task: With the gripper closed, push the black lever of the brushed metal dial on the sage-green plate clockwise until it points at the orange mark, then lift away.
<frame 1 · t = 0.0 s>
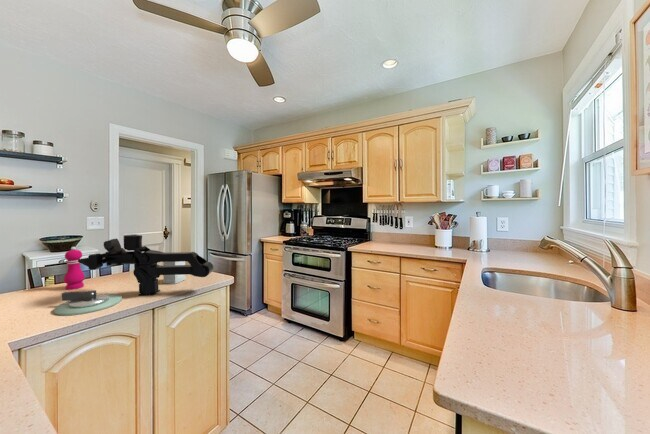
hand: (86, 258, 114), 17 cm above the countertop, tool horizontal, fingers open, 9 cm apart
dial plate: (90, 304, 103), on the countertop
dial: (85, 297, 103), point 3 cm above the countertop, hinge at 0.0°
supplement box: (174, 282, 135), on the countertop
pepper mill: (74, 288, 125), on the countertop
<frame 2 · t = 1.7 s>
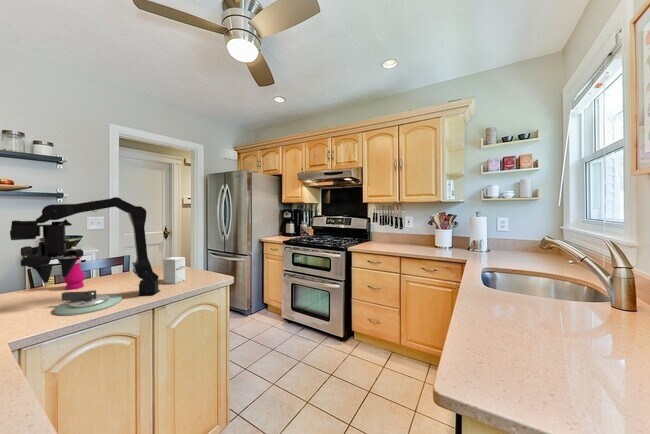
hand: (55, 279, 96), 12 cm above the countertop, tool pointing down, fingers open, 7 cm apart
nothing on the countertop moved.
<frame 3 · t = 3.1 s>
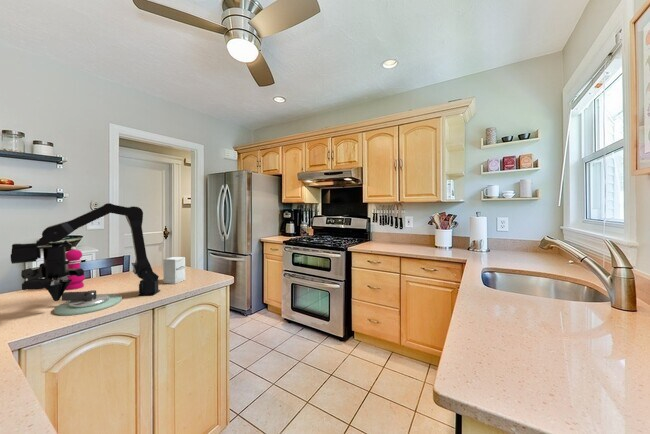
hand: (56, 300, 97), 4 cm above the countertop, tool pointing down, fingers closed
nothing on the countertop moved.
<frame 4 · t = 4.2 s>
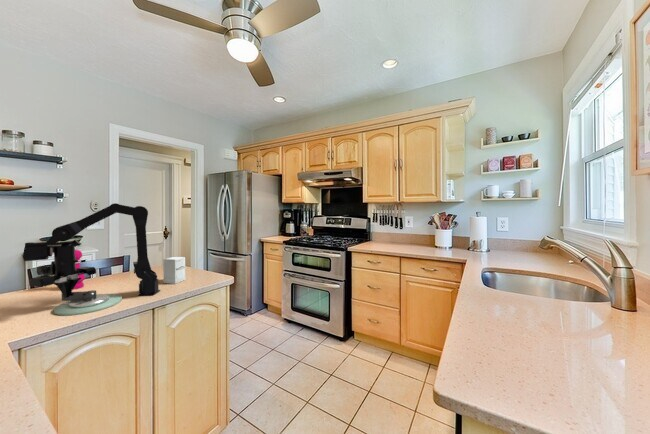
hand: (66, 297, 101), 4 cm above the countertop, tool pointing down, fingers closed
dial: (85, 297, 103), point 3 cm above the countertop, hinge at -0.1°, touching gripper
everything else where it was.
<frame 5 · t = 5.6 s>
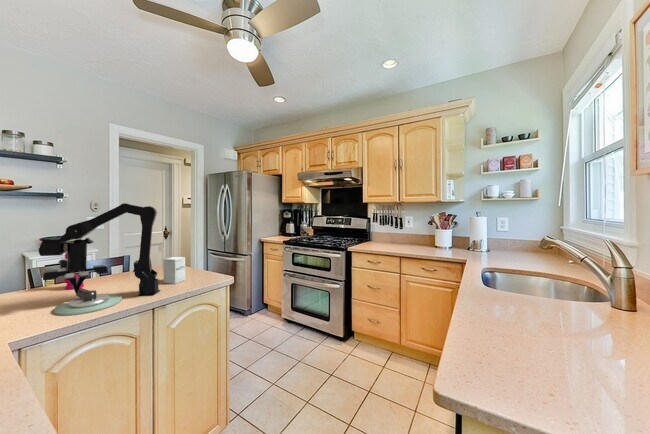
hand: (76, 293, 105), 4 cm above the countertop, tool pointing down, fingers closed
dial: (87, 296, 104), point 3 cm above the countertop, hinge at -32.8°, touching gripper
everything else where it was.
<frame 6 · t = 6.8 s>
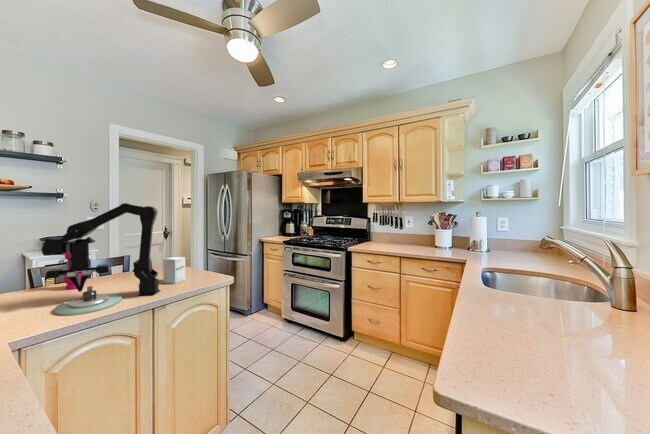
hand: (80, 291, 107), 4 cm above the countertop, tool pointing down, fingers closed
dial: (89, 295, 105), point 3 cm above the countertop, hinge at -54.5°
everything else where it was.
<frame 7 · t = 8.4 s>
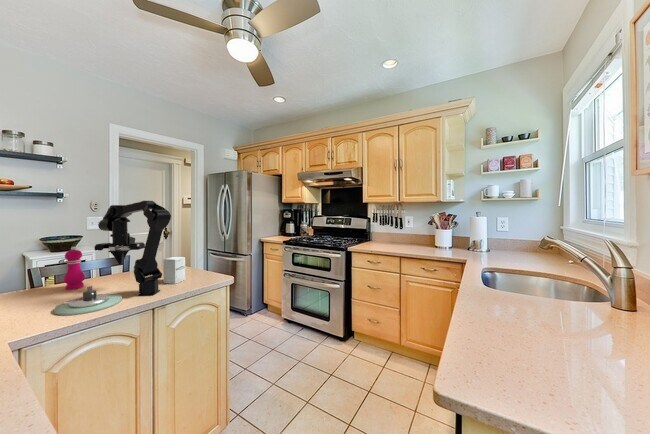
hand: (120, 264, 122), 12 cm above the countertop, tool pointing down, fingers closed
nothing on the countertop moved.
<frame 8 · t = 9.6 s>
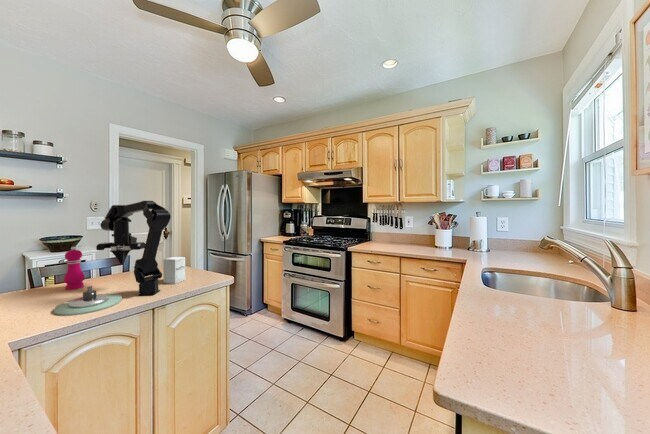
hand: (122, 264, 123), 12 cm above the countertop, tool pointing down, fingers closed
nothing on the countertop moved.
at the end: dial at -54° (first picture: +0°) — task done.
